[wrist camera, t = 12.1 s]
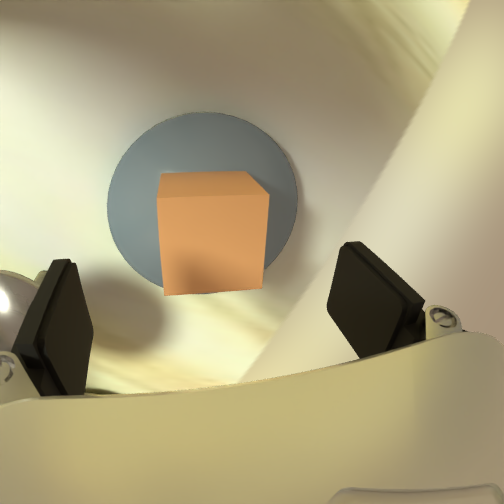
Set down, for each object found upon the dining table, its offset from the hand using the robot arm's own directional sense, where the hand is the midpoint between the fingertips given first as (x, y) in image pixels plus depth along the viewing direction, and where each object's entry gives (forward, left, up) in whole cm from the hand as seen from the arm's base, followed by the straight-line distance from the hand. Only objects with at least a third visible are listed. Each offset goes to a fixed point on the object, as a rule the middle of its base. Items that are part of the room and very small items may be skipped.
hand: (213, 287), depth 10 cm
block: (+1, +1, -9) cm, 9 cm away
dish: (+1, +1, -11) cm, 10 cm away
